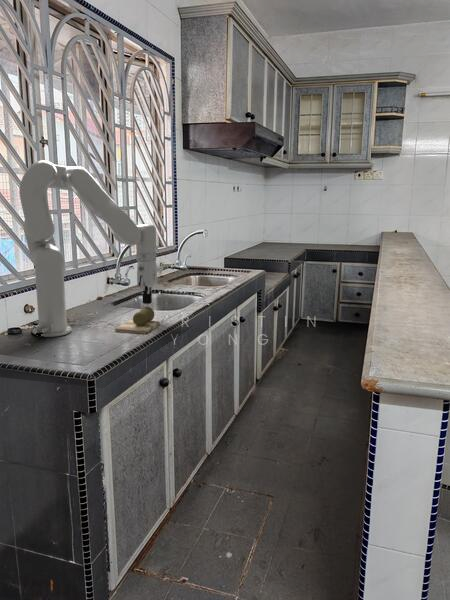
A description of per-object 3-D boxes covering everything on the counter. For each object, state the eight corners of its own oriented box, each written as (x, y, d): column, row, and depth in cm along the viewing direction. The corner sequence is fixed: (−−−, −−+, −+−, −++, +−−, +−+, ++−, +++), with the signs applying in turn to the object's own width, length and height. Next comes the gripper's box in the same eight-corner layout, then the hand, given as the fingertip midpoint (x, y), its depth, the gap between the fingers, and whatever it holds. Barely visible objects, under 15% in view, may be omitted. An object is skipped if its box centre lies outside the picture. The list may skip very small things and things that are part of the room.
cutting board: (146, 334, 177) (146, 330, 176) (115, 331, 179) (115, 328, 179) (159, 324, 190) (159, 321, 190) (131, 322, 193) (131, 319, 192)
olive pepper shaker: (140, 305, 192) (131, 310, 181) (155, 308, 191) (147, 313, 180) (138, 320, 193) (129, 326, 182) (153, 323, 192) (145, 329, 181)
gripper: (148, 259, 180) (149, 308, 184) (162, 255, 194) (162, 300, 198) (129, 258, 182) (130, 306, 186) (144, 254, 196) (145, 298, 200)
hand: (147, 303), depth 192 cm, fingers closed
